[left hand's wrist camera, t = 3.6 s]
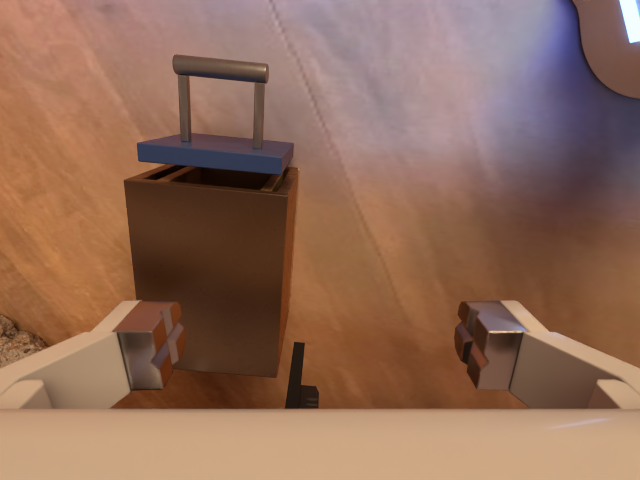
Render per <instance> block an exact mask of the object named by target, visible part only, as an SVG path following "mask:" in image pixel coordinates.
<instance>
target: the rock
mask: <svg viewBox="0 0 640 480" xmlns="http://www.w3.org/2000/svg"><path fill="white" fill-rule="evenodd" d="M46 348H49V347H48V346H47V345H45V344H44V342H43V341H42V340H41V339H40V337H36V336H33V335H32V334H31V333H29V332H26V331H19V332H18V331H17V329H16V328H15V327H14V323H13V322H12V321H11V320H10V319H8V318H7V317H4V316H3V315H1V314H0V368H2V367H4V366H7V365H9V364H11V363H14V362H16V361H18V360H21V359H23V358H25V357H28V356H30V355H32V354H35V353H37V352H39V351H42V350H44V349H46Z"/></svg>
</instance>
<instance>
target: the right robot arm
mask: <svg viewBox="0 0 640 480" xmlns="http://www.w3.org/2000/svg"><path fill="white" fill-rule="evenodd" d="M304 346H305V343H299V342H294V348H293V355H292V363H291V370H290V377H289V384H288V391H287V399H286V406H285V409H318V400H319V392H318V390H317V388H316V386H305V385H301V377H302V367H303V356H304Z"/></svg>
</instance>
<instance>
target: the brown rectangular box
mask: <svg viewBox="0 0 640 480" xmlns="http://www.w3.org/2000/svg"><path fill="white" fill-rule="evenodd" d="M185 167H187V166H182V165H171V164H166V165H163V166H161V167H158V168H155V169H153V170H150V171H147V172H145V173H142V174H139V175H137V176H134V177H131V178H128V179H126V180H124V187H125V197H126V206H127V216H128V225H129V234H130V244H131V253H132V263H133V272H134V281H135V291H136V300H142V301H144V300H148V301H178V302H179V304H180V305H181V310H182V316H181V317H180V319H179V320H178V322H179V323H180V324H181V325H182V326H183V327H184V328H185V335H186V338H185V347H184V352H183V354H182V356H181V358H180V360H179V361H178V362H176V363H175V364H173V365H172V368H173V369H179V370H191V371H202V372H214V373H226V374H237V375H249V376H261V377H273V378H276V377H277V372H278V367H279V361H280V356H281V350H282V345H283V339H284V334H285V328H286V323H287V317H288V312H289V307H290V293H291V279H292V265H293V252H294V238H295V224H296V210H297V197H298V183H299V169H300V168H293V167H286V168H285V170H284V171H283V172H284V174H283V182H282V184H281V186H280V188H279V189H278V191H277V192H274V191H263V190H253V189H242V188H232V187H222V186H211V185H201V184H190V183H180V182H169V181H159V180H158V179H161V178H163V177H165V176H167V175H170V174H172V173H174V172H176V171H178V170H181V169H183V168H185Z"/></svg>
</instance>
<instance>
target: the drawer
mask: <svg viewBox="0 0 640 480" xmlns="http://www.w3.org/2000/svg"><path fill="white" fill-rule="evenodd" d="M173 69H174V72H175V73H176V74H177V75H178V88H179V109H180V131H181V134H179V135H174V136H169V137H164V138H159V139H154V140H149V141H144V142H139V143H137V150H138V161H140V162H150V163H161V164H171V165H182V166H187V167H185V168H183V169H181V170H178V171H176V172H174V173H172V174H170V175H167V176H165V177H163V178H161V179H158V180H159V181H169V182H180V183H190V184H201V185H211V186H222V187H232V188H242V189H253V190H263V191H274V192H277V191H278V189H279V188H280V186H281V184H282V182H283V174H284V172H283V171H284V170H285V168H286V167H287V165H288V163H289V162H290V160H291V159H292V157H293V149H294V143H287V142H277V141H267V140H263V122H264V93H265V84H266V83H267V82H268V77H269V68H268V64H263V63H254V62H244V61H234V60H224V59H215V58H205V57H195V56H185V55H174V57H173ZM189 76H196V77H206V78H216V79H225V80H235V81H245V82H255V94H254V134H253V139H246V138H236V137H226V136H216V135H206V134H195V133H191V112H190V84H189ZM264 83H265V84H264Z"/></svg>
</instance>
